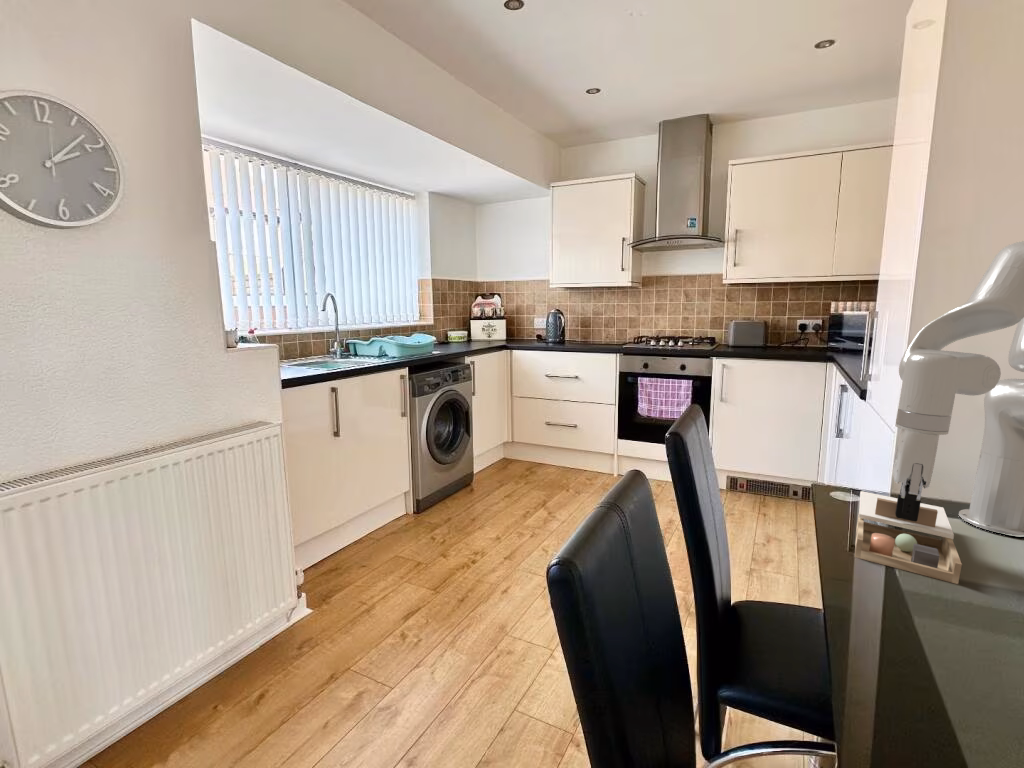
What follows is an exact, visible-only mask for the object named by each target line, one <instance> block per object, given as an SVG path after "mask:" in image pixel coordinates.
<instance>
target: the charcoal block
mask: <svg viewBox="0 0 1024 768" xmlns="http://www.w3.org/2000/svg"><path fill="white" fill-rule="evenodd" d="M911 562H914V563H918V564H922V565H926V566H930V567H934V568H937V567H938V562H939V553H938V549H935V548H931V547H927V546H923V545H918V544H914V546H913V552H912V557H911Z"/></svg>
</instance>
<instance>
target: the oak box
mask: <svg viewBox="0 0 1024 768" xmlns="http://www.w3.org/2000/svg"><path fill="white" fill-rule="evenodd" d="M864 520H865V519H862V518H859V513H858V515H857V521H856V522H857V523H856V527H855V528H856V529H855V530H856V531H855V543H854V544H855V545H854V546H855V548H854V558H856V559H860V560H864V561H868V562H872V563H876V564H879V565H884V566H886V567H891V568H894V569H899V570H902V571H906V572H911V573H914V574H917V575H921V576H924V577H929V578H933V579H937V580H941V581H944V582H947V583H952V584H955V585H959V582H960V581H959V580H960V575H961V570H962V566H963V563H962V562H961V558H960V556H959V553H958V550H957V548H956V545H955V543H954V538H953V539H950V538H946V537H942V536H941V538H938V537H934V536H933V537H932V536H928V535H923V534H920V533H915V532H910V531H906V530H903V529H902V530H901V529H898V528H894V527H889V526H884V525H881V524H877V523H876V524H875V523H872V522H867V521H864ZM873 533H880V534H885V535H888V536H890V537H892V538H894V539H896V537H897V536H898V535H900V534H909V535H911V536H913V537H914V538H915V539H916V541H917V544H918V545H923V546H927V547H931V548H935V549H938V553H939V562H938V567H937V568H934V567H930V566H926V565H922V564H918V563H914V562H911V557H912V552H913V551H912V552H905V551H902V550H900V549H899V548H898V547H897V545H896V543H894V549H893V555H892V557H890V556H886V555H882V554H878V553H875V552H871V551H869V548H870V542H871V536H872V534H873Z"/></svg>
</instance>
